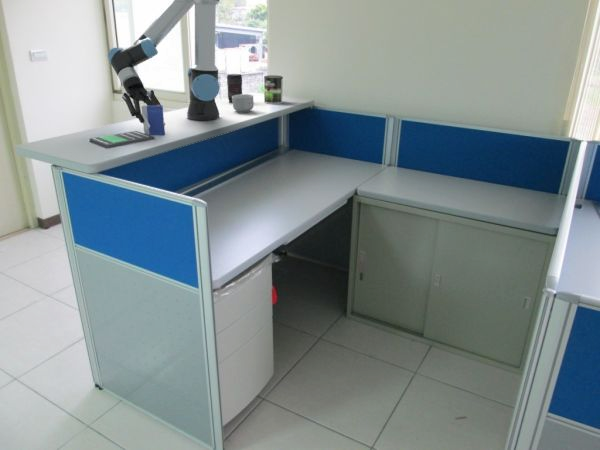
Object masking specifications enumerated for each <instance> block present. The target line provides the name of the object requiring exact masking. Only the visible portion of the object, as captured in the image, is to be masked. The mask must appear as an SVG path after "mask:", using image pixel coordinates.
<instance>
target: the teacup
mask: <svg viewBox="0 0 600 450" xmlns="http://www.w3.org/2000/svg"><path fill="white" fill-rule="evenodd" d="M232 102H233V103H232V108H233V110H235V111H236V113H244V114H245V113H249V112H251V110H253V109H254V94H248V93H245V94H244V93H242V94H240V95H234V96H232Z"/></svg>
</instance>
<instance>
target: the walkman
mask: <svg viewBox="0 0 600 450" xmlns="http://www.w3.org/2000/svg"><path fill="white" fill-rule="evenodd" d="M142 113H143V114H144V115H145V117H146V119H147V121H148V123H149V125H150V128H149V130H146V128H145V127H144V126H143V131H144V132H143V133H144V134H148V135H151V136H165V135H166V131H165V129H166V128H165V126H164V125H163V120H164V121H165V119H164V107H163V105H162V104H161V105H147V104H144V105H142V106H141V114H142Z"/></svg>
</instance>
